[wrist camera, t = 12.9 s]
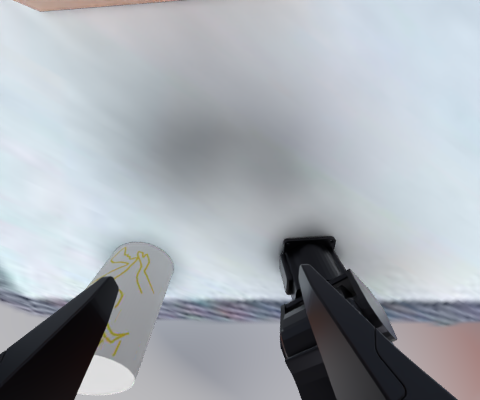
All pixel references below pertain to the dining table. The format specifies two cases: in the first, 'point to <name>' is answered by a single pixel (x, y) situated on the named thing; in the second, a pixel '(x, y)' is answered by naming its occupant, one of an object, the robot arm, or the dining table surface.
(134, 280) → the light grey cylinder
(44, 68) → the dining table surface
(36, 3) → the bin
